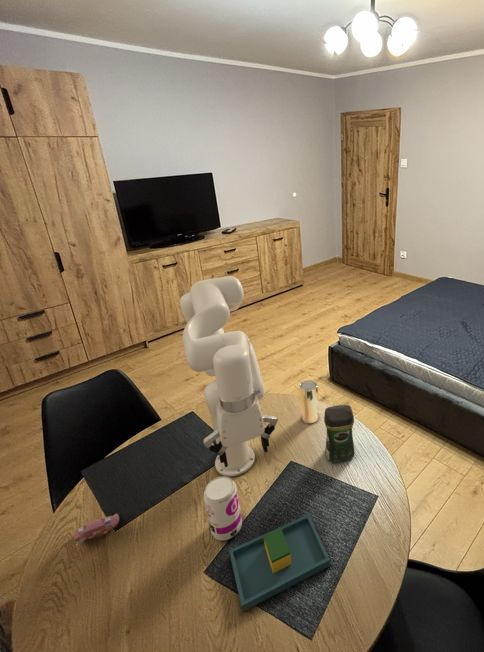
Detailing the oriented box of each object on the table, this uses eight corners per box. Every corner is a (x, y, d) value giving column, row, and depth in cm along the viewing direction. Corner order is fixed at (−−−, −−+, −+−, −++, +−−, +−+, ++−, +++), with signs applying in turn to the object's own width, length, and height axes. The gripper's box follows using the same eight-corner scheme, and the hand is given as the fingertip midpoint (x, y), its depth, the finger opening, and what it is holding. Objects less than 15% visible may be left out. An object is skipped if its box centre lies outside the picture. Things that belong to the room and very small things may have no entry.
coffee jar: (351, 443, 128) (351, 399, 120) (356, 460, 121) (356, 415, 113) (323, 447, 126) (322, 403, 119) (327, 465, 119) (326, 420, 112)
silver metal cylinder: (316, 425, 136) (315, 392, 130) (298, 423, 137) (296, 390, 131) (321, 413, 142) (320, 380, 136) (304, 411, 144) (302, 378, 138)
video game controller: (79, 548, 97) (70, 542, 92) (78, 529, 99) (70, 523, 94) (121, 531, 101) (115, 525, 96) (120, 513, 103) (114, 507, 98)
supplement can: (248, 518, 102) (242, 479, 96) (230, 546, 95) (223, 505, 89) (223, 509, 105) (215, 471, 99) (204, 536, 98) (195, 496, 92)
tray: (230, 556, 93) (229, 550, 92) (309, 519, 102) (308, 514, 101) (242, 612, 82) (241, 606, 81) (330, 565, 90) (330, 559, 89)
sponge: (265, 547, 94) (263, 535, 92) (282, 539, 96) (280, 527, 94) (273, 573, 88) (271, 561, 86) (291, 564, 90) (290, 552, 88)
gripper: (269, 379, 89) (275, 434, 96) (194, 400, 82) (206, 457, 89) (279, 396, 83) (284, 453, 90) (199, 421, 76) (211, 481, 83)
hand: (245, 455), depth 89 cm, fingers open, 9 cm apart
